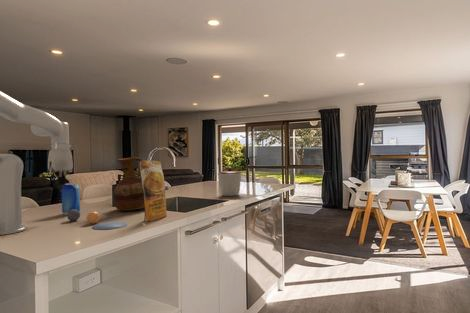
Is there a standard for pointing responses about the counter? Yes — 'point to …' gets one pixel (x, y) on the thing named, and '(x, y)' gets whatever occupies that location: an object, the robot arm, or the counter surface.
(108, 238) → the counter surface
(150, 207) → the pancake mix bag
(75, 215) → the gray ball
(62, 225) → the counter surface
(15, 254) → the counter surface
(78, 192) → the blue carton
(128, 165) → the ceramic pitcher
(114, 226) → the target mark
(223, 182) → the canister
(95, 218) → the object ball
